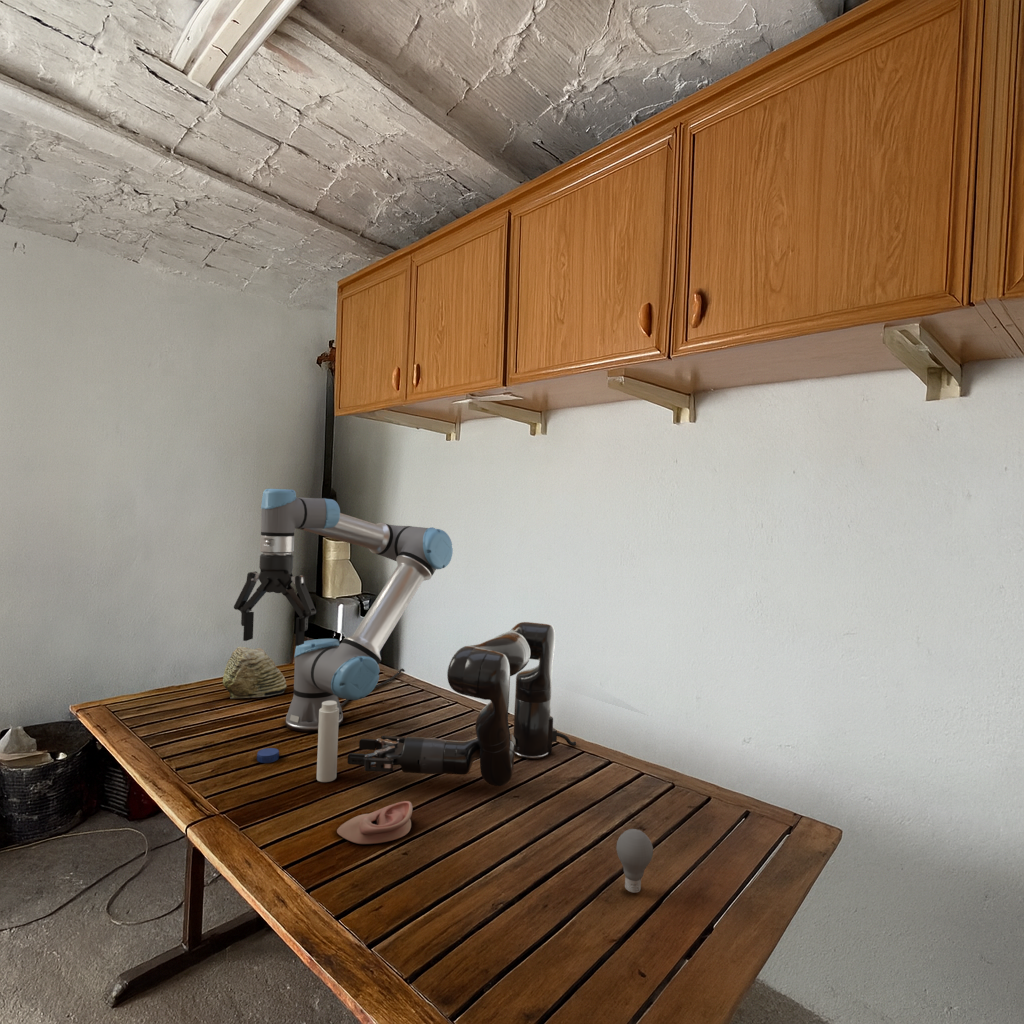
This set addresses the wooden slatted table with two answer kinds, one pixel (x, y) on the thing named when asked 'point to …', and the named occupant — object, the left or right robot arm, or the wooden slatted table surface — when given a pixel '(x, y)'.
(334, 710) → the white cylindrical bottle
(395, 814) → the anatomical model
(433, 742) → the right robot arm
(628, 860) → the light bulb
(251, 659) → the fossil
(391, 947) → the wooden slatted table surface
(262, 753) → the lid
